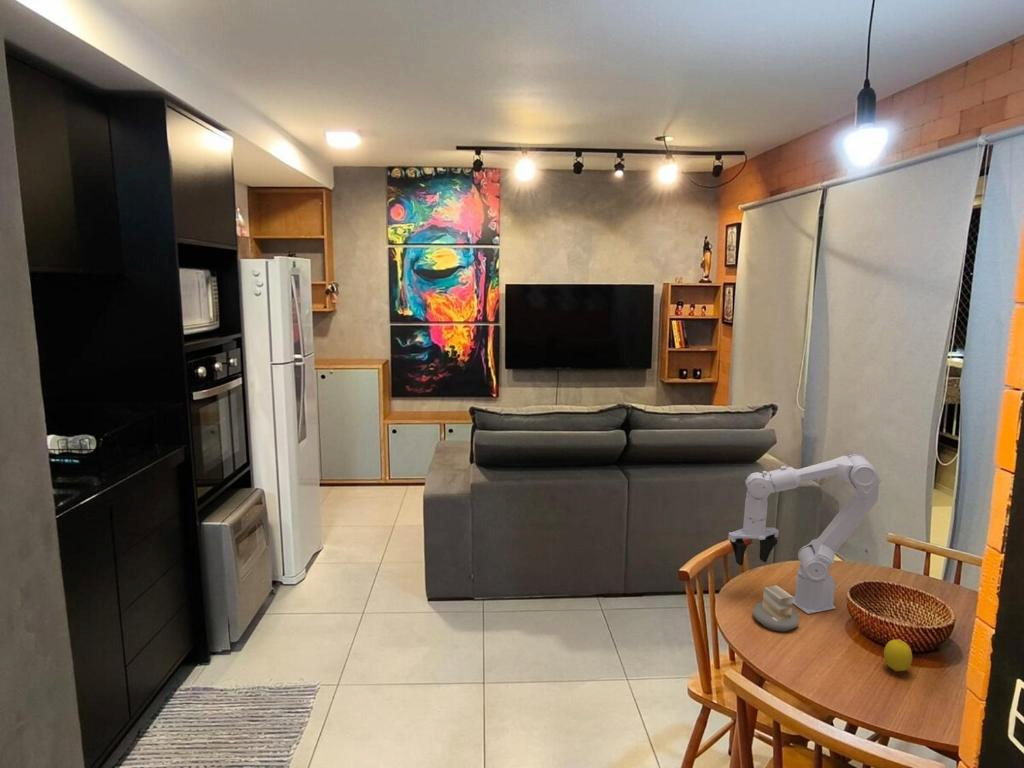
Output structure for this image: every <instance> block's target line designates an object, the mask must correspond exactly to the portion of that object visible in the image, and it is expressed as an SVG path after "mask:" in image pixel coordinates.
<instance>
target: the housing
mask: <svg viewBox="0 0 1024 768" xmlns="http://www.w3.org/2000/svg"><path fill="white" fill-rule="evenodd" d="M762 602H763V606H762V608H763V609H764V610H765V611H767V612H768V613H769V614H770V615H772V616H773V617H774V618H776V619H777V620H783V619H788V618H791V613H792V609H793V595H791V594H790V593H789V592H787V591H785V590H784V589H783V588H781V587H780V586H778V585H776V584H775V585H771V586H766V587H763V596H762Z"/></svg>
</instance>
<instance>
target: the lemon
mask: <svg viewBox="0 0 1024 768" xmlns="http://www.w3.org/2000/svg"><path fill="white" fill-rule="evenodd" d="M883 658H884V659H883V660H884V662H885V663H886V665H887V666H888V667H889V668H890V669H891V670H893V671H894V672H896V673H898V672H904V671H907V670H908V669H909V668H910V667H911V666H912V665H911V664H912V663H913V653H912V649H911V647H910V646H909V645H908V644H907V643H906V642H905V641H903V640H902V639H900V638H899V639H891V640H890V641H888V642H887V643H886V644H885V647H884V649H883Z"/></svg>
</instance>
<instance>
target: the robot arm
mask: <svg viewBox="0 0 1024 768" xmlns="http://www.w3.org/2000/svg"><path fill="white" fill-rule="evenodd" d="M831 477H834V478H837V479H839V480H842V481H843V482H849V480H850V485H851V487H852V491H853V494H851V496H850V497H849V499H848V500H847V502H845V504H844V505H843V506H842V507H841V509H840V510H839V512H838V513H837V514H836V515H835V516H834V518H833V519H832V520H831V522H830V523H828V525H827V526H826V527H825V529H824V530H823V531H822V532H821V534H820V535H819V536H818V538H815V539H812V540H811V541H810V542H809V543H808V544H806V545H804V546H802V547H801V548H800V549H799V550H798V551H797V558H798V561H799V562H800V566H799V567H798V569H797V571H796V582H795V590H794V596H793V595H792V596H793V603H792V605H795V606H796V607H797V608H799V609H800V610H802V612H804V613H806V614H808V615H809V614H815V613H819V612H820V613H821V612H825V611H830V610H834V609H836V606H835V605H834V602H835V601H834V599H835V590H836V582H835V579H834V578H833V576H832V575H831V574H830V569H831V567H832V565H833V564H834V561H835V557H836V556H835V555H836V553H837V552H838V550H839V549H840V548H841V546H842V545H843V544H845V543H844V542H846V540H847V539H848V538H849V536H850V535H851V534H852V533H853V531H854V530H855V529H856V528H857V527H858V526H859V524H860V523H861V522H862V521H863V520H864V518H865V517H866V516H867V515H868V513H869V512H870V511H871V510H872V508H873V507H874V506H875V505H876V504H877V502H878V500H879V491H880V490H879V488H880V483H881V482H882V481H881V480H882V479H881V477H880V475H879V472H878V470H877V469H876V468H875V466H873V465H872V464H871V463H870V462H869V460H868V458H866V457H865V456H864V455H862V454H859V453H853V454H850V455H848V456H847V455H841V456H839V457H837V458H834V459H830V460H827V461H824V462H820V463H817V464H813V465H809V466H806V467H802V468H799V469H796V468H794V467H792V466H786V465H782V466H780V468H777V469H773V470H770V471H767V470H763V471H762V472H758V471H757V472H753V473H750V474H749V475H748V476H747V478H746V479H745V486H746V488H747V489H746V496H745V500H744V501H745V502H744V513H743V525H742V528H740V529H737V530H735V531H730V532H728V541H729V542H730V544H731V546H732V549H733V553H734V558H735V563H736V564H737V565H739V567H740V566H743V565H744V559H745V553H746V550H747V548H748V545H747V544H746V543H744V542H745V541H744V540H751V539H755V540H758V541H759V560H760V561H762V562H763V563H767V561H768V558H769V556H770V554H771V552H772V551H773V549H774V548H775V547H776V545H777V544H778V539H777V538H778V537H779V532H780V531H779V529H777V528H776V527H766V526H767V517H768V505H769V504H768V503H769V501H768V499H769V498H768V497H769V496H770V495H771V494H774V493H777V492H783V491H787V490H791V489H797V488H798V487H799V486H800V484H801V483H803V482H809V481H814V480H819V479H826V478H831Z"/></svg>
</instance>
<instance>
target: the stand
mask: <svg viewBox="0 0 1024 768" xmlns="http://www.w3.org/2000/svg"><path fill="white" fill-rule="evenodd" d="M762 606H763V601H760V602H757V603H755V605H754V606H753V613H752V614H753V617H754V618H755V619H756V620H757V622H758V621H759V622H760V623H761V624H762V626H763V627H765V628H766V627H767V628H766V629H769V630H771V629H772V631H775V630H776V631H775V632H789V631H791V630H793V629H794V628H796V627H798V625H799V624H800V615H799V613H798V612H797V611H796V610H795V609H793V608H792V613H791V618H788V619H783V620H777V619H776V618H774V617H773V616H772V615H770V614H769V613H768V612H767V611H765V610H764V609H763V608H762ZM759 622H758V623H759ZM760 623H759V624H760ZM761 624H760V625H761Z"/></svg>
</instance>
